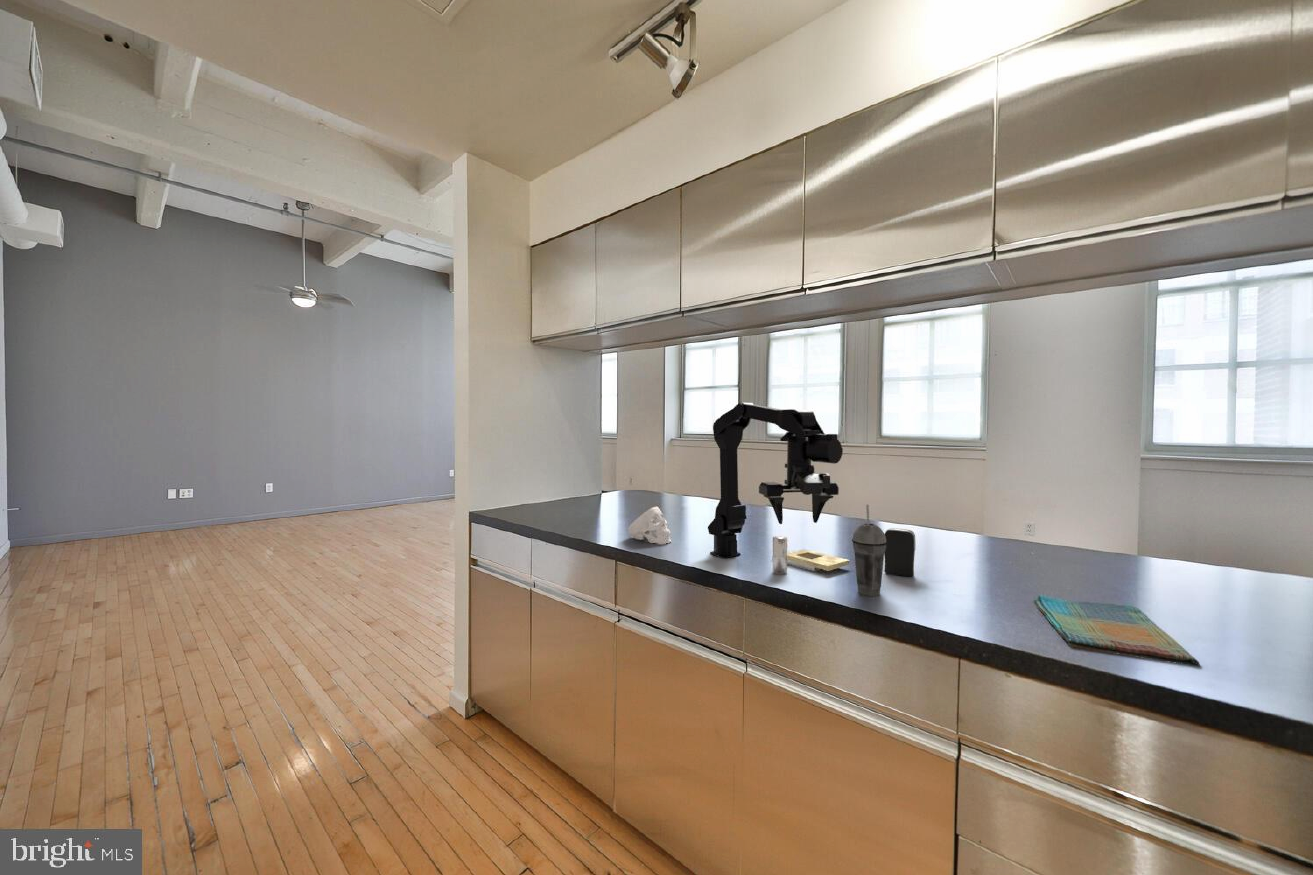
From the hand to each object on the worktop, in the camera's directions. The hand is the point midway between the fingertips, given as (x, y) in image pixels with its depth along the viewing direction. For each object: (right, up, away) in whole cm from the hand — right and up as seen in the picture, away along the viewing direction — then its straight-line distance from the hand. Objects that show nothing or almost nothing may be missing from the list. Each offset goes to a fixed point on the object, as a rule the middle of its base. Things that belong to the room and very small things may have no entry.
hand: (798, 523), depth 124 cm
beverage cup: (+13, -14, -11) cm, 22 cm away
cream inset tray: (+6, -13, +11) cm, 18 cm away
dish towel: (+48, -15, -32) cm, 59 cm away
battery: (+26, -13, +2) cm, 30 cm away
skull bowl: (-37, -13, +40) cm, 56 cm away
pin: (-3, -13, +4) cm, 14 cm away
